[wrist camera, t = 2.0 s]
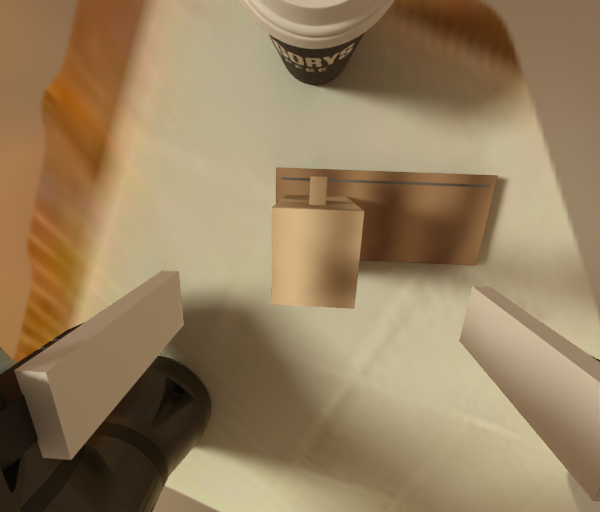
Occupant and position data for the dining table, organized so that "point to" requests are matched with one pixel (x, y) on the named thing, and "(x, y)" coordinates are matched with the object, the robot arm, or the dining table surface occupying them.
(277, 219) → the tan block with peg
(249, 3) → the coffee cup
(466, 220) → the plank
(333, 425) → the dining table surface
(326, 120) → the dining table surface
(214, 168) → the dining table surface
